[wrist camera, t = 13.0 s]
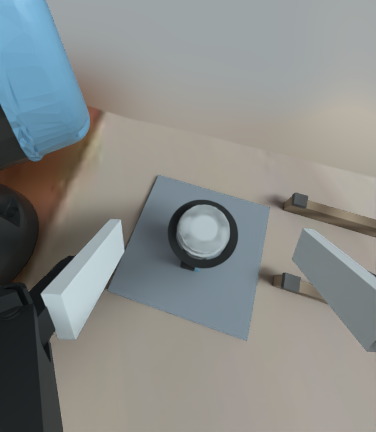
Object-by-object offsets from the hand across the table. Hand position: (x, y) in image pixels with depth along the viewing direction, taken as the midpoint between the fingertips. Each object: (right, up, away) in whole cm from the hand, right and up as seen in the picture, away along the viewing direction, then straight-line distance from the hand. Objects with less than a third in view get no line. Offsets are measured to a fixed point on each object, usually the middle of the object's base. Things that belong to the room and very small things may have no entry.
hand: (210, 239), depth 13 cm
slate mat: (-1, -2, +9) cm, 10 cm away
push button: (-1, -2, +9) cm, 9 cm away
